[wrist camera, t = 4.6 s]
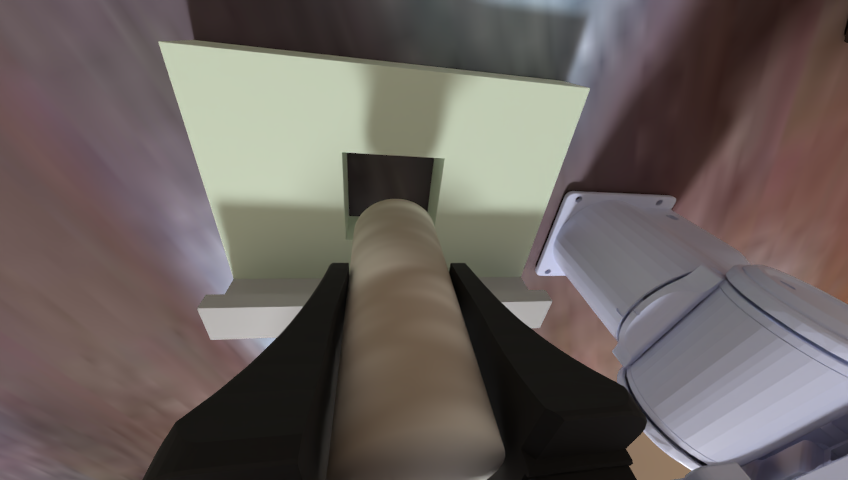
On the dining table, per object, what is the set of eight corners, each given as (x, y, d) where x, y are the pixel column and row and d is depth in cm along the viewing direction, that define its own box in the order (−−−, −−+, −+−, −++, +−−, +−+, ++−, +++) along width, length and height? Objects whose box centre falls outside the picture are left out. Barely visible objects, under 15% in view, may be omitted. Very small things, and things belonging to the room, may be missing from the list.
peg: (440, 200, 14) (527, 419, 6) (429, 267, 17) (484, 496, 8) (353, 196, 14) (319, 437, 5) (354, 267, 16) (331, 516, 8)
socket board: (561, 80, 18) (645, 103, 13) (503, 262, 26) (539, 327, 20) (193, 39, 15) (82, 45, 9) (252, 262, 23) (210, 339, 17)
